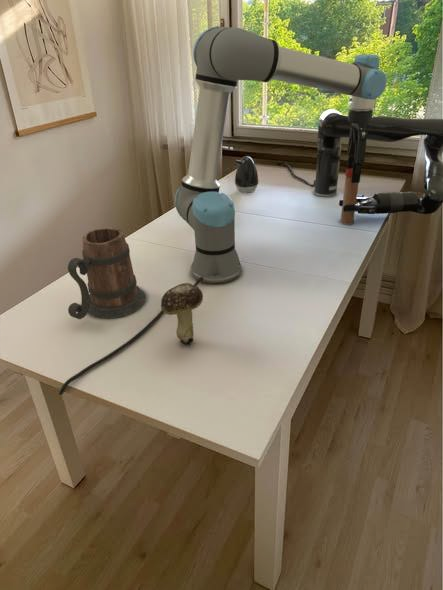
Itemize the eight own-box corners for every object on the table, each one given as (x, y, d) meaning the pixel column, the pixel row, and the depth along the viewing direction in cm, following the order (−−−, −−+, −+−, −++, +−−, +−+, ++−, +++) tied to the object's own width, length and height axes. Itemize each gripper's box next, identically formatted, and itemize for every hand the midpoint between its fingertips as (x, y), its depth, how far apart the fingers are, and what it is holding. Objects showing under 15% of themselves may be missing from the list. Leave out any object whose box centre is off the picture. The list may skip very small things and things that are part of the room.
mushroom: (205, 329, 111) (202, 278, 102) (206, 352, 103) (202, 298, 95) (168, 331, 110) (161, 279, 102) (165, 354, 103) (158, 300, 95)
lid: (345, 177, 153) (345, 172, 152) (345, 173, 157) (346, 168, 156) (359, 178, 152) (360, 172, 151) (359, 173, 156) (360, 168, 155)
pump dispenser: (230, 190, 197) (229, 155, 189) (251, 186, 201) (251, 151, 193) (241, 196, 189) (240, 161, 181) (262, 192, 193) (263, 157, 185)
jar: (340, 223, 163) (346, 173, 153) (340, 219, 166) (346, 169, 156) (353, 224, 162) (360, 174, 151) (353, 219, 165) (359, 170, 155)
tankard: (113, 279, 133) (101, 217, 123) (158, 293, 126) (149, 228, 115) (52, 320, 116) (32, 252, 106) (99, 339, 109) (83, 267, 98)
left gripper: (342, 103, 151) (336, 170, 164) (356, 115, 135) (348, 188, 147) (365, 103, 151) (356, 169, 164) (381, 114, 134) (371, 188, 147)
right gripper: (393, 220, 157) (346, 223, 156) (379, 205, 169) (334, 208, 168) (397, 199, 153) (348, 202, 152) (382, 186, 165) (336, 188, 164)
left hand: (352, 178), depth 155 cm, fingers open, 7 cm apart
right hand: (341, 205), depth 160 cm, fingers closed on jar, 4 cm apart
